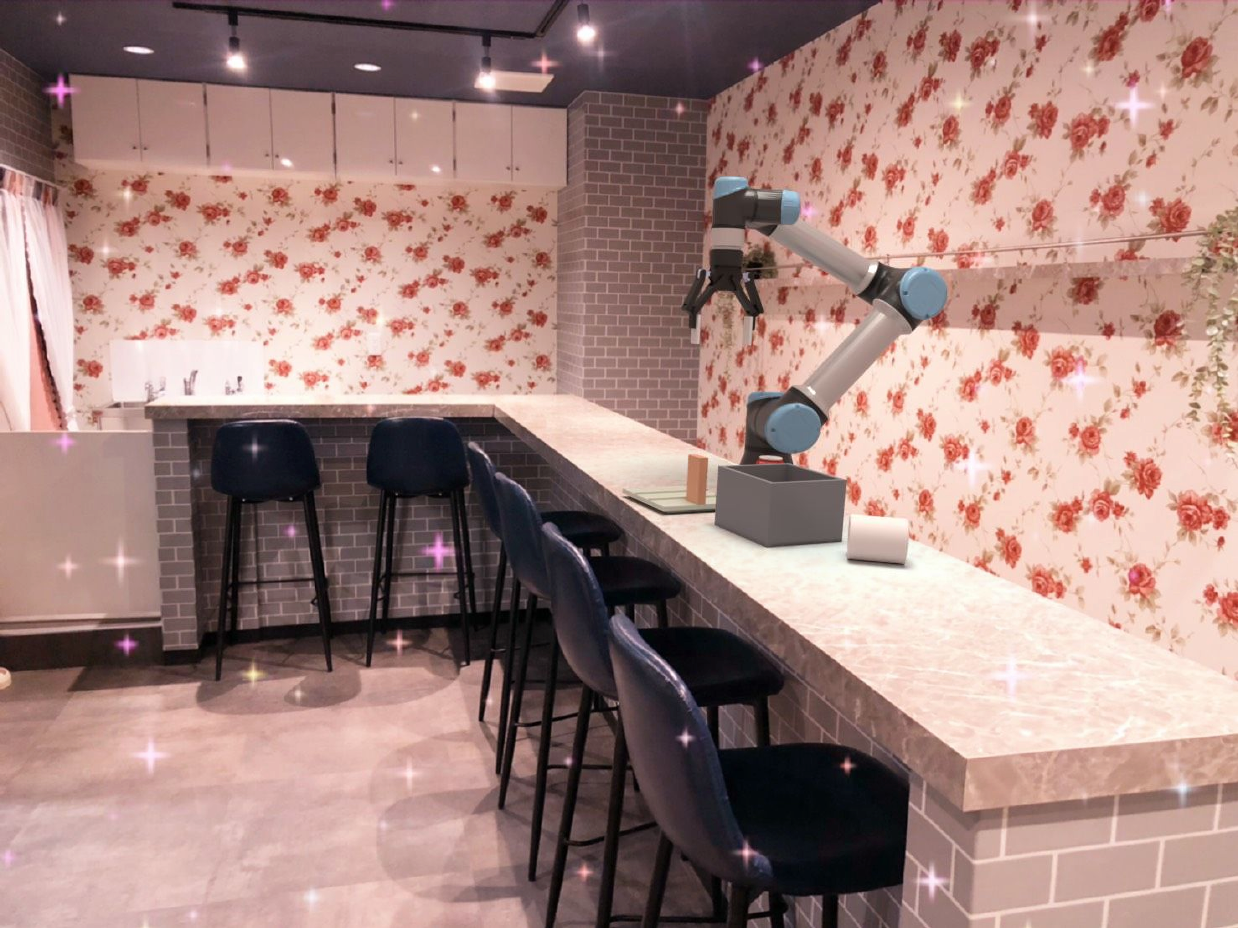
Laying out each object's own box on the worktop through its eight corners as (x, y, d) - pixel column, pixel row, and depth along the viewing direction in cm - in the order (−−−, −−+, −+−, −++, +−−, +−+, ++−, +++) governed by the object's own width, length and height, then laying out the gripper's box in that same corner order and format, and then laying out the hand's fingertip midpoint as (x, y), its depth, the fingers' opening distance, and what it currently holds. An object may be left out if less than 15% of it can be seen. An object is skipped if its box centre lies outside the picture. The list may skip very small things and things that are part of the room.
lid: (692, 494, 230) (694, 442, 228) (737, 512, 213) (740, 456, 211) (622, 498, 223) (624, 444, 221) (663, 517, 205) (666, 459, 203)
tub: (785, 519, 206) (789, 463, 204) (841, 541, 189) (846, 479, 187) (714, 524, 199) (718, 465, 197) (766, 547, 182) (771, 483, 180)
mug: (906, 569, 171) (910, 524, 170) (847, 563, 173) (851, 519, 172) (900, 552, 183) (904, 510, 182) (845, 547, 185) (849, 505, 184)
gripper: (764, 252, 229) (758, 344, 233) (669, 245, 219) (664, 342, 222) (783, 251, 223) (776, 346, 226) (686, 244, 212) (680, 344, 215)
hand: (721, 344), depth 224 cm, fingers open, 13 cm apart
